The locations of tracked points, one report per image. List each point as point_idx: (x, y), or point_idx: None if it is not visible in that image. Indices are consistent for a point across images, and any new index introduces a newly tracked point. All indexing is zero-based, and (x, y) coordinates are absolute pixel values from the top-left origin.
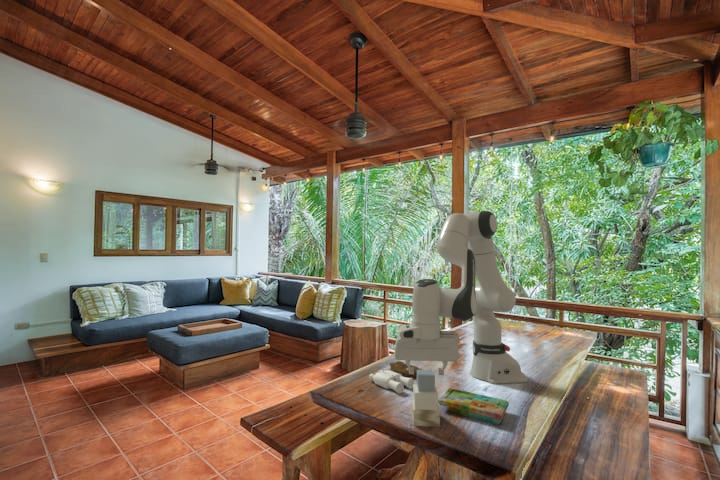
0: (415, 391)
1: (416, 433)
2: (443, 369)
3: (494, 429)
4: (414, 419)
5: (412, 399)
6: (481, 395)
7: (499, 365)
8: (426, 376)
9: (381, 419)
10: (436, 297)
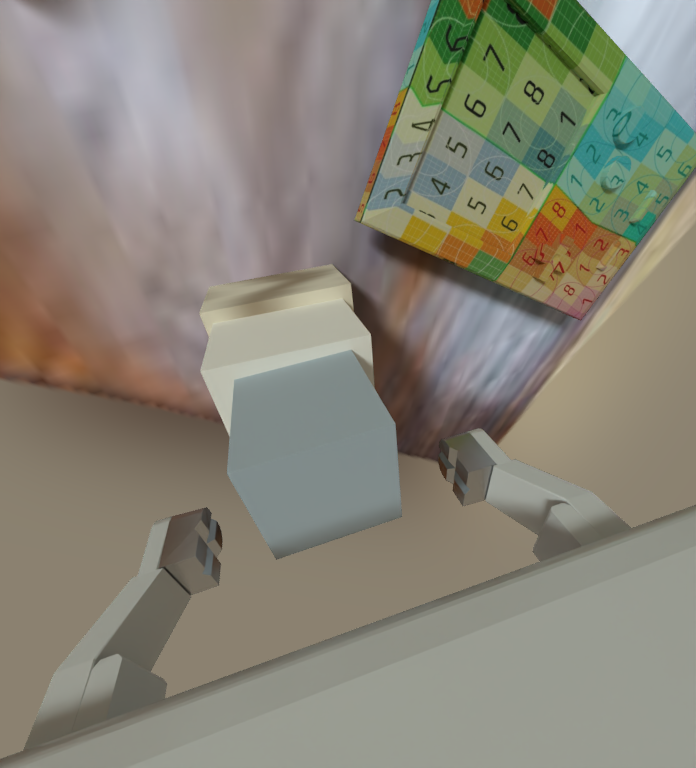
0: None
1: None
2: (499, 498)
3: (519, 325)
4: None
5: (209, 326)
6: (626, 121)
7: None
8: (337, 530)
9: (88, 389)
10: None
